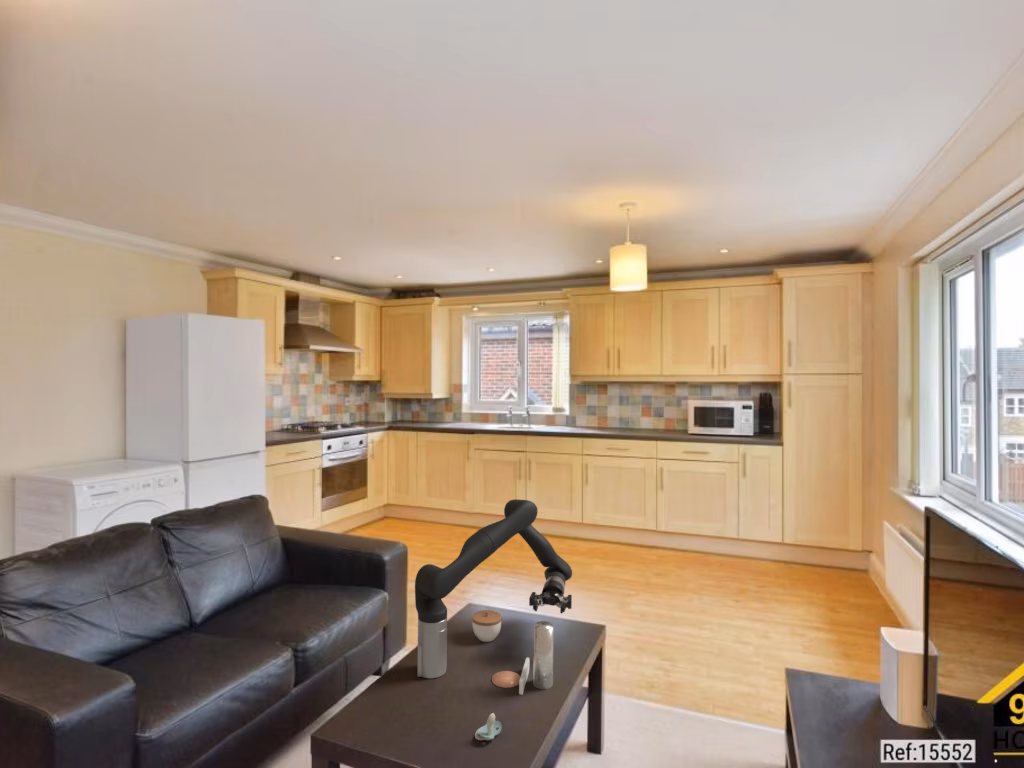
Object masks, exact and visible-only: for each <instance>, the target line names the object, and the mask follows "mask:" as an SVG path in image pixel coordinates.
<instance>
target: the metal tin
mask: <svg viewBox="0 0 1024 768" xmlns="http://www.w3.org/2000/svg"><path fill="white" fill-rule="evenodd" d="M554 633H555V631H554V624H553V623H552V622H550V621H546V620H540V621H536V622H535V623H534V624H533V663H532V664H533V666H532V667H533V668H532V669H533V670H532V671H533V677H532V679H533V680H532V681H533V682H532V684H533V686H534V687H535V688H536V689H539V690H548V689H551V688H553V686H554V685H553V684H554V636H555V635H554Z"/></svg>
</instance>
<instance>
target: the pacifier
mask: <svg viewBox="0 0 1024 768" xmlns="http://www.w3.org/2000/svg"><path fill="white" fill-rule="evenodd" d="M501 731H502V722H501V721H499V720H496V715H495V713H494V712H492V713H490V714H489V716H488V718H487V721H486V723H485V724H484V725H483V726H481V727H479V728H478V729H477V730H476V731H475V734H474V737H475V739H476V740H478V741H491V740H493V739H495V737H496V736H497V735H499V734H500V733H501Z"/></svg>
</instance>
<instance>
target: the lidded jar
mask: <svg viewBox="0 0 1024 768" xmlns="http://www.w3.org/2000/svg"><path fill="white" fill-rule="evenodd" d="M502 620H503V616H502V614H501V613H499V612H498V611H495V610H489V609H488V610H487V609H486V610H480V611H477V612H474V613H473V615H472V616H471V621H472V625H471V626H472V630H473V633H474V635H475V637H476V638H478V640H479V641H481V642H485V643H488V642H489V643H490V642H492V641H494V640H495V639H496V638H497V636H498V635H499V634H500V631H501V628H502Z"/></svg>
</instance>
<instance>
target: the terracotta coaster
mask: <svg viewBox="0 0 1024 768" xmlns="http://www.w3.org/2000/svg"><path fill="white" fill-rule="evenodd" d="M520 677H521V675H520V674H519V673H517V672H514V671H510V670H501V671H498V672H496V673H494V674H493V675H492V677H491V682H492V684H493V685H495V686H496V687H499V688H505V689H509V688H514V687H516V686H519V680H520Z"/></svg>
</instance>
